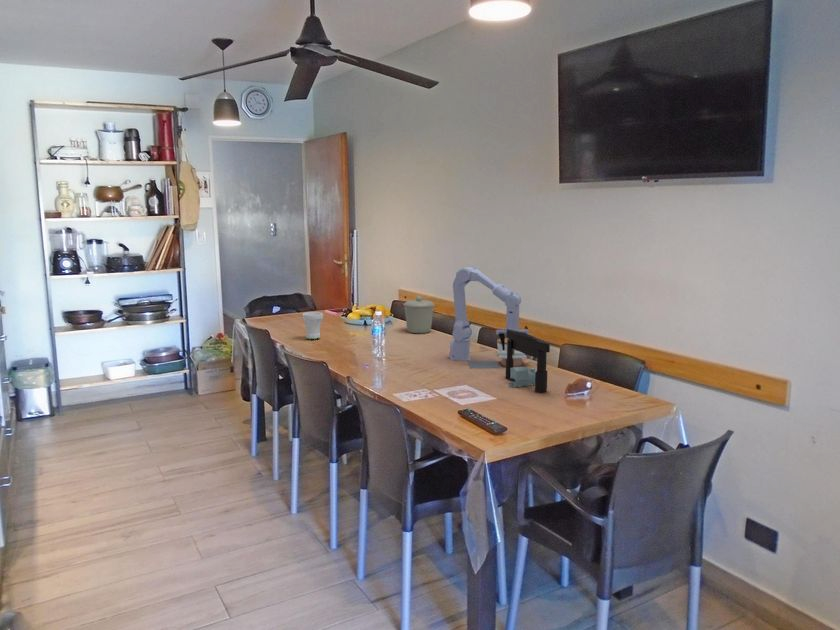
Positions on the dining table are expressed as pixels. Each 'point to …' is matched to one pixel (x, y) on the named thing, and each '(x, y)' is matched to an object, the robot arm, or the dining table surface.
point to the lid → (515, 354)
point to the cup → (312, 324)
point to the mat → (483, 364)
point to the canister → (419, 315)
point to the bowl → (516, 362)
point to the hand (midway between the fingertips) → (511, 349)
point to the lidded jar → (501, 345)
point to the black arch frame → (531, 348)
